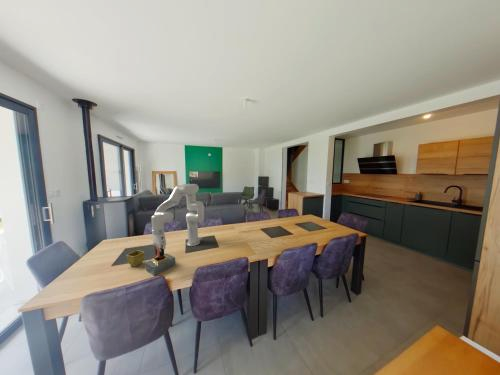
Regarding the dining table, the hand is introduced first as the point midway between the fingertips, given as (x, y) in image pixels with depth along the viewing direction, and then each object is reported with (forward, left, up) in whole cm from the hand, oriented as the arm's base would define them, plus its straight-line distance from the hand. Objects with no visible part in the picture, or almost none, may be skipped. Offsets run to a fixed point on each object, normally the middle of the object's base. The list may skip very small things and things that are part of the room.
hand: (160, 254), depth 125 cm
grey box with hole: (0, 0, -10) cm, 10 cm away
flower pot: (+8, -21, -10) cm, 25 cm away
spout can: (-1, 0, -6) cm, 6 cm away
